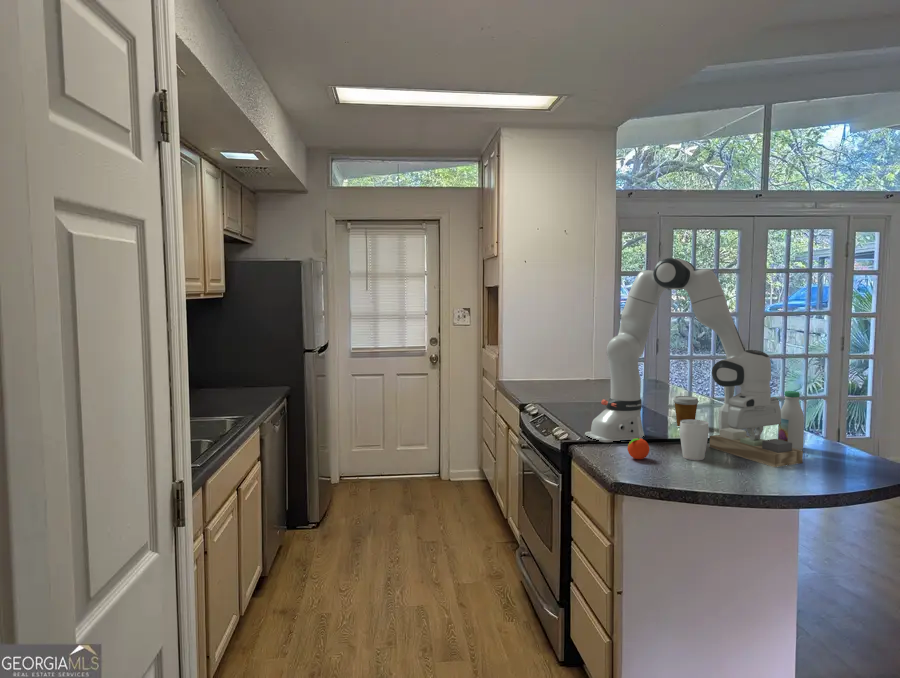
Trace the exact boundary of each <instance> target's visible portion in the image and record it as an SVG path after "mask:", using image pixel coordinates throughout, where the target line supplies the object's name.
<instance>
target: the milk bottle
mask: <svg viewBox="0 0 900 678" xmlns="http://www.w3.org/2000/svg"><path fill="white" fill-rule="evenodd" d="M800 393H801V392H799V391H796V390H786V391H784V398H785V399H784V402H783V405H782V406H781V407H780V409H781V422H780V424H778V428H777V429H778V430H777V431H778V434H777V439H779V440H783V441H787V442H791V443H792V448H795V449H798V450H802V451H803V449H804V435H805V434H804V433H805V432H804V431H805V425H804V424H805V416H804V415H805V414H804V412H803V409H802V407H801V404H800V396H801V394H800Z"/></svg>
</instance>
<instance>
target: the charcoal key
mask: <svg viewBox="0 0 900 678" xmlns="http://www.w3.org/2000/svg"><path fill="white" fill-rule="evenodd" d="M762 449H766V450H770V451H773V452H777V453H781V452H788V451H792V443H791V442H787V441H783V440H779V439H778V438H771V439H763V441H762Z"/></svg>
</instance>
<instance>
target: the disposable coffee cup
mask: <svg viewBox="0 0 900 678" xmlns="http://www.w3.org/2000/svg"><path fill="white" fill-rule="evenodd" d="M672 401H673V403H674V410H675V417H676V419H675V421H676V427H677V426H680V421H681V420H687V419H693V420H696V416H697V411H698V410H697V409H698V405H699V398H698V397H696V396H690V395H677V396H674V399H673V400H672Z"/></svg>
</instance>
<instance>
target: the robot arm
mask: <svg viewBox="0 0 900 678" xmlns="http://www.w3.org/2000/svg"><path fill="white" fill-rule="evenodd" d="M665 290H668V291H669V290H675V291H676V290H680V291H681V290H684V291H685V292H686V293H687V294H688V297H689V300H690V304H691V308H692V310H693V313H694V316H695V317H696V319H697V321H698V323H700V324H701V325H702V326H705V327H707V328H708V329H710V330H712V331H713V332H715V333H716V335H717V336H718V338H719V340H720V342H721V344H722V347H723V350H724V353H725V356H726V358H725V359H721V360H718V361H717V362H715V363H714V365H713V366H712V370H711V375H712V379H713V381H714V382H715V383H716V384H717V385H718V386H721V387H723V388H724V387H732V386H735V387H740V389H741V390H740V391H741V392H739V393H738V394H736V395H734V397H732V398H730V399H729V404H730V405H732V406H730V408H729V413H728V424H729V426H730V428H733V429H740V430H746V431H747V433H748V435H749V436H750V440H760V439H761V436H762V435H761V434H762V433H763V430H764V427H769V426H777V425H778V426H779V424H780V422H781V406H780V400H779V399H778V398H777V397H775V396H772V397H771V394H772V389H771V385H770V383H771V379H772V365H771V363H772V362H771V358H770V356H769V355H768V353H766V352H764V351H761V350H758V349H757V350H754V349H745V347H744V344H743V341H742V340H741V336H740V333H739V331H738V328H737V326H736V323H735V322H734V319H733V317H732V314H731V311H730V309H729V304H728V303H727V302H728V301H727V299H726V296H725V292H724V290H723V288H722V285H721V283H720V281H719V278H718V276H717V275H716V273H715V272H714V271H713V270H711V269H707V268H702V269H697V270H696V268H695V266H694V265H693V263H691V262H690V261H687V260H685V259H682V258H673V257H672V258H671V257H668V258H667V257H666V258H663V259H662V260H660V261H658V262H657V263H656V265H655V266H654V268H653V270H650V269H647V270H642V271H640V272H638V274H637V275H636V277H635V279H634V280H633V282H632V285H631V287H630V290H629V292H628V295H627V298H626V301H625V303H624V307H623V309H622V313H621V316H620V317H621V319H620V325H619V330H618V333H617V335H615V336H614V337H612V338H611V339H610V340H609V342H608V343H607V346H606V356H607V361H608V362H607V363H608V369H609V376H610V397H609V399H608V400H607V399H604V398H603V399H602V400H601V402H600V403H601V405H603V406H606V408H605V409H604V410H602V411H601V413H599V414H598V415H597V416H596V417H595V418H593V420H592V422H591V426H590V427H591V428H590V431H585V433H584V436H585V435H586V436H588V437H590V438H592V439H591V440H593V439H596V440H599V441H598V442H601V443H614V442H613V441H620V440H633V439H635V438H641V439H643V438H644V437H645V432H644V428H643V422H642V412H641V411H642V406H643V404H642V398H641V388H642V387H641V385H642V384H641V383H642V381H641V375H640V369H639V368H640V367H639V358H641V357H642V355H643V354H644V352H645V351H644V350H645V348H646V344H647V341H648V336H649V332H650V327H651V325H652V321H653V318H654V315H655V312H656V310H657V307H658V304H659V301H660V298H661V296H662V293H663V292H664V291H665ZM586 436H585V437H586ZM643 436H644V437H643ZM588 437H587V438H588ZM642 437H643V438H642ZM590 438H589V439H590ZM596 440H595V441H596Z"/></svg>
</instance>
